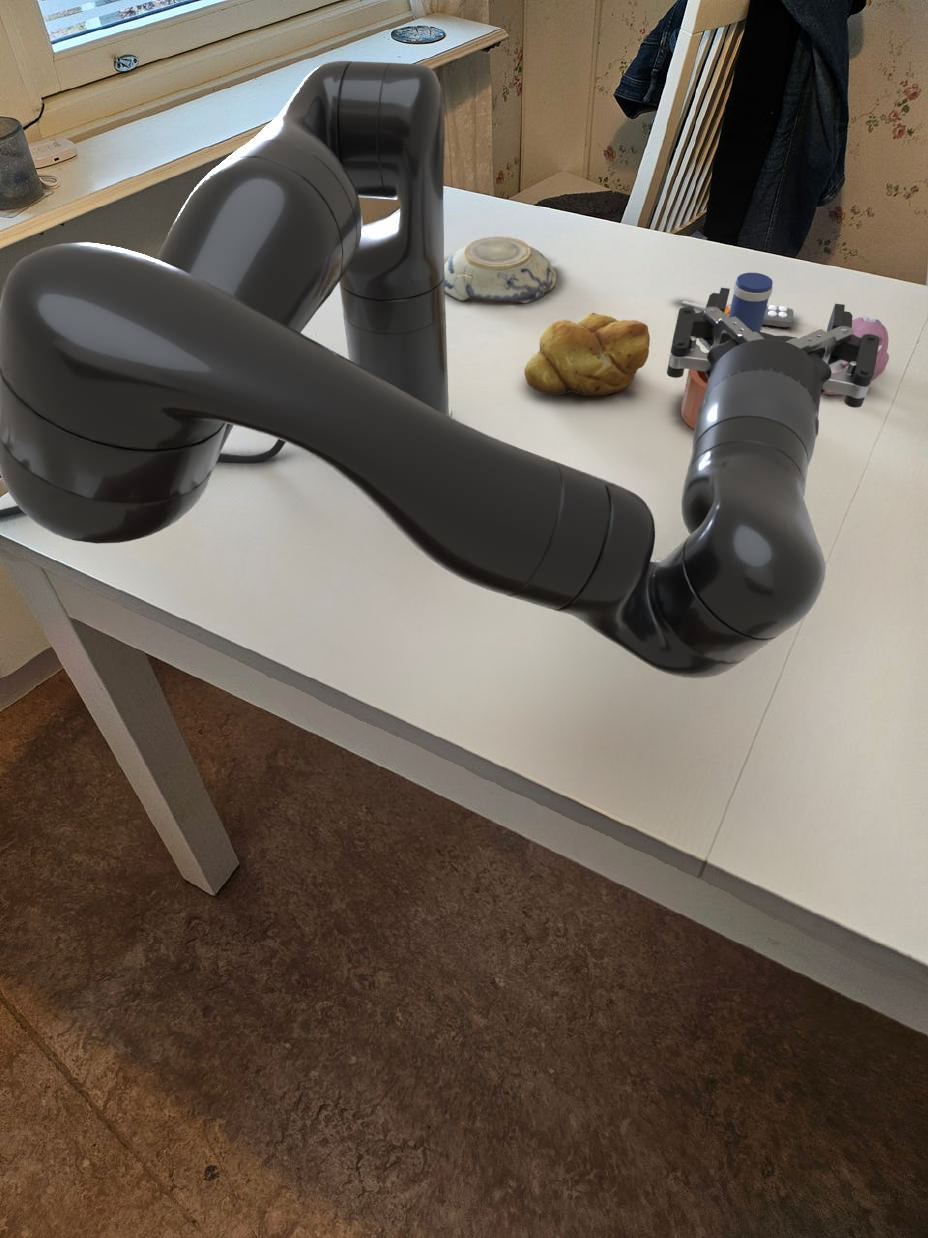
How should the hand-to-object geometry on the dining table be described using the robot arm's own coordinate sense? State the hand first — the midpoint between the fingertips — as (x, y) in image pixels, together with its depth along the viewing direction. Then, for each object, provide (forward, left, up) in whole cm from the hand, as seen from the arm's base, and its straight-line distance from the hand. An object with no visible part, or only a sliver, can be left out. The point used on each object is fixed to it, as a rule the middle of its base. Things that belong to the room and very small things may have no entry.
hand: (779, 306), depth 68 cm
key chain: (+8, +33, -19) cm, 39 cm away
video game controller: (+17, +20, -19) cm, 33 cm away
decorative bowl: (-20, +44, -19) cm, 52 cm away
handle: (+2, +13, -18) cm, 23 cm away
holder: (+2, +13, -19) cm, 23 cm away
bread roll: (-12, +20, -19) cm, 30 cm away
